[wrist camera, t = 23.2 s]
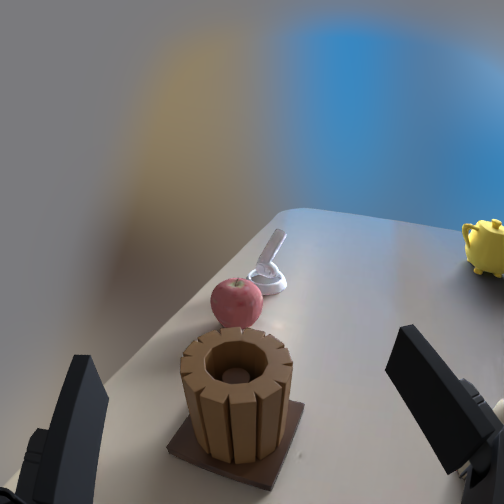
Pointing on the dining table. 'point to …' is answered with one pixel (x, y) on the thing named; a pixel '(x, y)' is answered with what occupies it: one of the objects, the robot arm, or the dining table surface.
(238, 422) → the wooden slatted pot
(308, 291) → the dining table surface
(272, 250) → the hook
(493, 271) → the teapot
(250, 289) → the apple
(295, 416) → the tape stand
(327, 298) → the dining table surface
